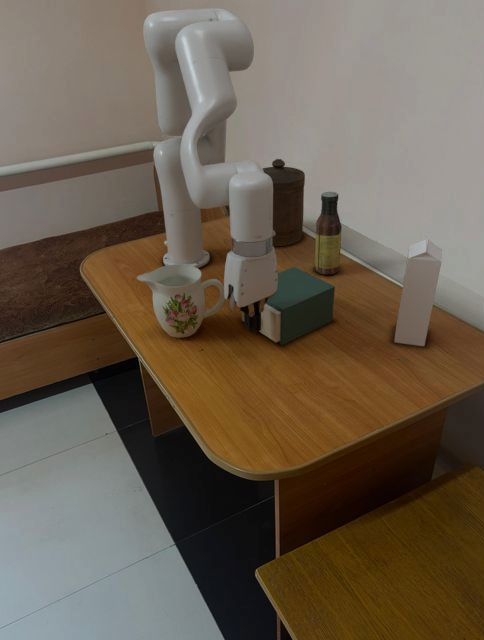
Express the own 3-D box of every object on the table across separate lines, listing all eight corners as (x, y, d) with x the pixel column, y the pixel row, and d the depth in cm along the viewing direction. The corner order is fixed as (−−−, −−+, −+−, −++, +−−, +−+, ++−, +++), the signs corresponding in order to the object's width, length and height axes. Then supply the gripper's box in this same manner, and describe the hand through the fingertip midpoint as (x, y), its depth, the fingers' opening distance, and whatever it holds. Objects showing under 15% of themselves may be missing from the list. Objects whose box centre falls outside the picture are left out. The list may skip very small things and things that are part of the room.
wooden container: (312, 233, 158) (316, 156, 145) (284, 251, 148) (285, 171, 136) (270, 223, 166) (270, 149, 153) (241, 239, 156) (239, 162, 144)
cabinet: (282, 345, 111) (283, 309, 106) (244, 320, 119) (243, 286, 114) (332, 321, 118) (335, 286, 113) (293, 299, 126) (294, 266, 121)
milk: (393, 342, 110) (409, 242, 98) (395, 327, 115) (411, 229, 102) (425, 347, 108) (444, 245, 96) (425, 331, 113) (444, 232, 100)
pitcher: (232, 335, 114) (229, 277, 107) (147, 348, 111) (139, 290, 104) (221, 310, 123) (218, 255, 115) (142, 322, 120) (134, 266, 112)
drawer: (271, 344, 109) (271, 316, 106) (237, 322, 117) (236, 294, 113) (322, 320, 117) (324, 292, 113) (287, 300, 124) (288, 274, 120)
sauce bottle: (344, 271, 137) (351, 194, 126) (325, 278, 134) (331, 200, 123) (326, 262, 142) (331, 188, 130) (308, 269, 139) (312, 193, 127)
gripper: (269, 226, 103) (268, 309, 113) (205, 248, 96) (211, 334, 106) (296, 238, 98) (293, 323, 109) (231, 262, 91) (234, 351, 101)
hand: (252, 328), depth 107 cm, fingers closed
